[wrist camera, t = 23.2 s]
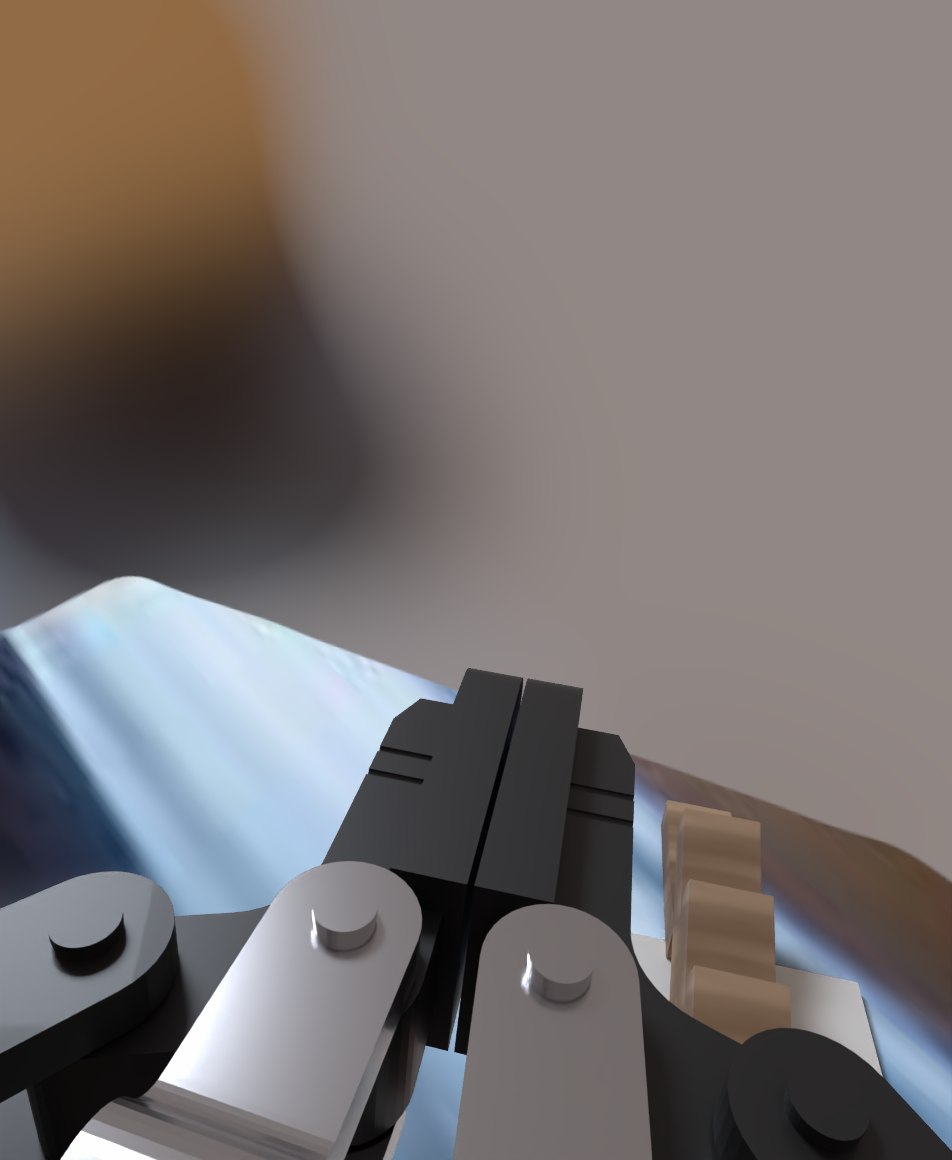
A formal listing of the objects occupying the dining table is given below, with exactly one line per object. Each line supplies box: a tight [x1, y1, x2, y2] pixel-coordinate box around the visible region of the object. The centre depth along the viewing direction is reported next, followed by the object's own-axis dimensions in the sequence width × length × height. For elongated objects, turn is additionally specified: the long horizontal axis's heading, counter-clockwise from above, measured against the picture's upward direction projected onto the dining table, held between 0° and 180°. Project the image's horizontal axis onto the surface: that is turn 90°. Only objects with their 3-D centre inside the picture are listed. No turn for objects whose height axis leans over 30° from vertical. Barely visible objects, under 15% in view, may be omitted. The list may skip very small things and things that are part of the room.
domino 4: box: [684, 965, 791, 1044], centre depth 32 cm, size 2×4×11 cm
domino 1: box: [661, 800, 731, 959], centre depth 47 cm, size 2×4×11 cm
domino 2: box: [669, 808, 762, 1006], centre depth 41 cm, size 2×4×11 cm
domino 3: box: [676, 879, 776, 1012], centre depth 37 cm, size 2×4×11 cm
